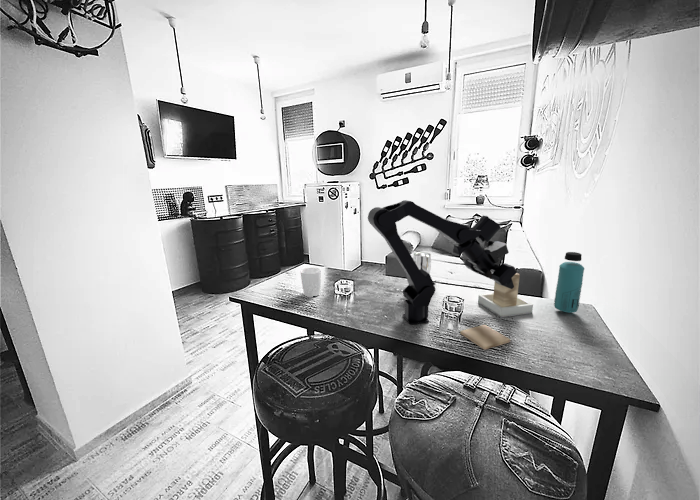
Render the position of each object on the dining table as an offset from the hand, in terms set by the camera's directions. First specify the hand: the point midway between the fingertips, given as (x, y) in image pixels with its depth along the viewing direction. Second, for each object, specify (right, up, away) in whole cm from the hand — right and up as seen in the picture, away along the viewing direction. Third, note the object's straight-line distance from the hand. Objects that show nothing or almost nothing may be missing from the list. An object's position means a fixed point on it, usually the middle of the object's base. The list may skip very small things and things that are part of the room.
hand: (502, 283), depth 96 cm
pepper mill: (+2, -8, +2) cm, 9 cm away
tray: (+2, -9, +2) cm, 9 cm away
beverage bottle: (+19, -10, -2) cm, 21 cm away
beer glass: (-22, -5, +20) cm, 30 cm away
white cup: (-66, -7, +20) cm, 69 cm away
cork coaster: (-13, -14, -15) cm, 24 cm away
